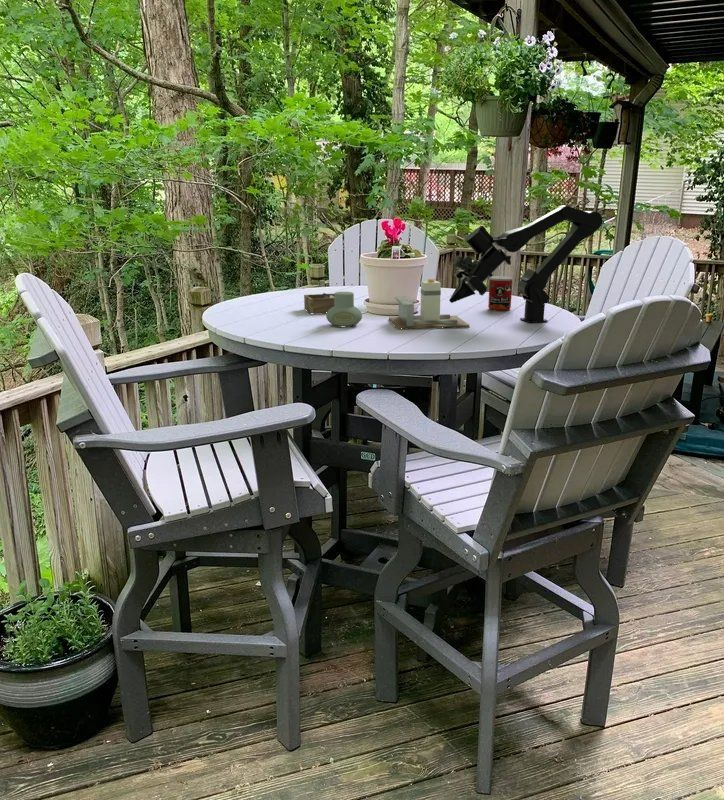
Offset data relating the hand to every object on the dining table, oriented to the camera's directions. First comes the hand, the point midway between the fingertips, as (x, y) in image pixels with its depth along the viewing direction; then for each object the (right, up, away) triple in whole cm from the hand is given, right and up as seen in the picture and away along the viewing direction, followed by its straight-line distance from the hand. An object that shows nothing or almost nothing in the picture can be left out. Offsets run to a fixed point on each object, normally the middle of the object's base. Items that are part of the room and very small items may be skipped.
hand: (450, 301), depth 212 cm
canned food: (+20, +1, +26) cm, 33 cm away
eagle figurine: (-39, 0, +23) cm, 46 cm away
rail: (-14, -6, 0) cm, 16 cm away
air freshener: (-33, -8, -1) cm, 34 cm away
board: (-7, -7, +1) cm, 10 cm away
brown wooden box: (-39, 0, +24) cm, 46 cm away
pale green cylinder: (-6, -6, +1) cm, 9 cm away
